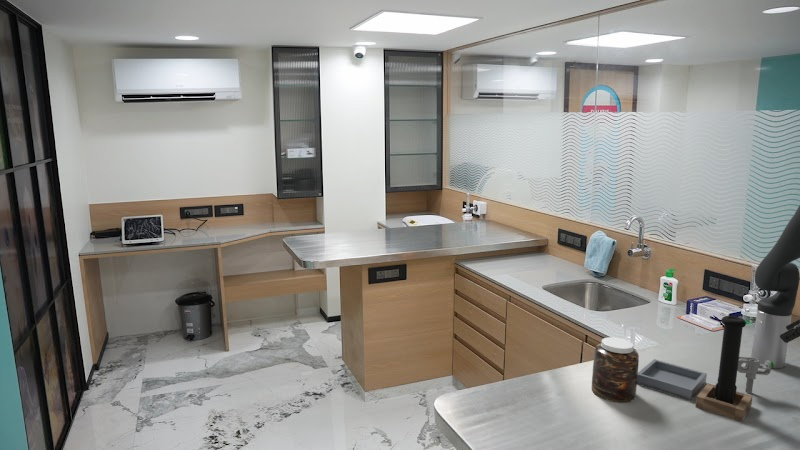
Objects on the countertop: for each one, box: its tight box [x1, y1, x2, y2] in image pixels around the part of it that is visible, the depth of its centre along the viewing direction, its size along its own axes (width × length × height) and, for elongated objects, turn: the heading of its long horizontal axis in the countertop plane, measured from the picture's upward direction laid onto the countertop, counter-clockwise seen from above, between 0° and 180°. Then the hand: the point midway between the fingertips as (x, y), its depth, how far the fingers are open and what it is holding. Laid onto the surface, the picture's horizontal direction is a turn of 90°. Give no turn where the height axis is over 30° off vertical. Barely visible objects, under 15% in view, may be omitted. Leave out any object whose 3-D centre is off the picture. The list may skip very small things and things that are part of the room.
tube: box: [715, 315, 747, 405], centre depth 149 cm, size 25×6×6 cm
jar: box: [591, 336, 640, 403], centre depth 157 cm, size 12×12×15 cm
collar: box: [695, 383, 753, 422], centre depth 151 cm, size 11×11×3 cm
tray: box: [637, 358, 708, 401], centre depth 165 cm, size 15×15×3 cm
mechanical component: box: [737, 356, 774, 395], centre depth 159 cm, size 3×10×10 cm, turn 78°
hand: (785, 334), depth 140 cm, fingers open, 8 cm apart
